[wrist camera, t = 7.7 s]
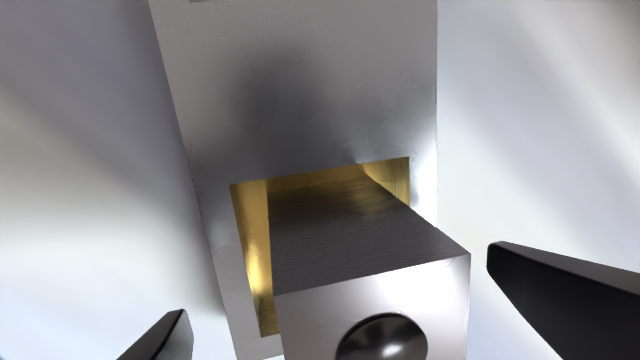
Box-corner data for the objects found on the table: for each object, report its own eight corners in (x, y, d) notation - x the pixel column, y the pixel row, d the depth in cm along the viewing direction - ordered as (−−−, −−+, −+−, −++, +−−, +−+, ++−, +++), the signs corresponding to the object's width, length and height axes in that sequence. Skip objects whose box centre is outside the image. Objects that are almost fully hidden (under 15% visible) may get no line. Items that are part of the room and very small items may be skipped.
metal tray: (396, -310, 8) (440, -440, 6) (410, 284, 14) (435, 317, 12) (89, -336, 7) (22, -506, 5) (241, 322, 13) (238, 365, 11)
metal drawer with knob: (369, 176, 12) (474, 256, 6) (374, 264, 13) (467, 402, 7) (266, 193, 11) (273, 300, 5) (282, 284, 12) (302, 451, 7)
